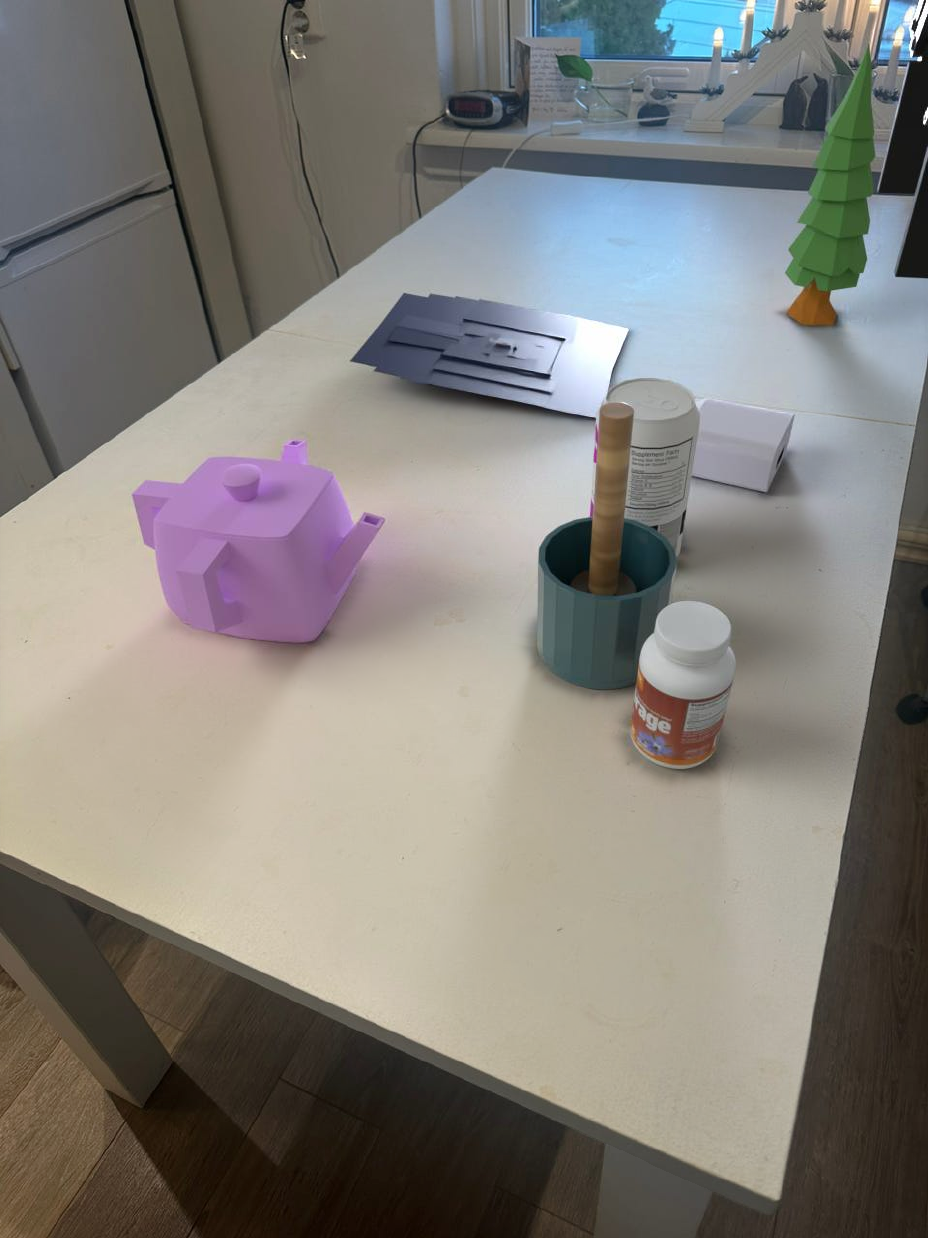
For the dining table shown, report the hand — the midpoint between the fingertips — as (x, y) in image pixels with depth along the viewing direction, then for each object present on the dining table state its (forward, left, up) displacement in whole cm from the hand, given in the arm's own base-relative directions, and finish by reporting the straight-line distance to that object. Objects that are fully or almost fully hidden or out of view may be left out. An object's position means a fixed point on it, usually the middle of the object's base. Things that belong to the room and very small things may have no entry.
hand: (912, 230), depth 46 cm
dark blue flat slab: (+56, +10, -32) cm, 66 cm away
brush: (+6, +14, -31) cm, 35 cm away
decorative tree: (+56, -33, -32) cm, 73 cm away
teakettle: (+19, +39, -32) cm, 54 cm away
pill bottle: (-5, +12, -32) cm, 35 cm away
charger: (+29, -6, -32) cm, 44 cm away
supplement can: (+16, +7, -32) cm, 37 cm away
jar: (+5, +14, -32) cm, 35 cm away
